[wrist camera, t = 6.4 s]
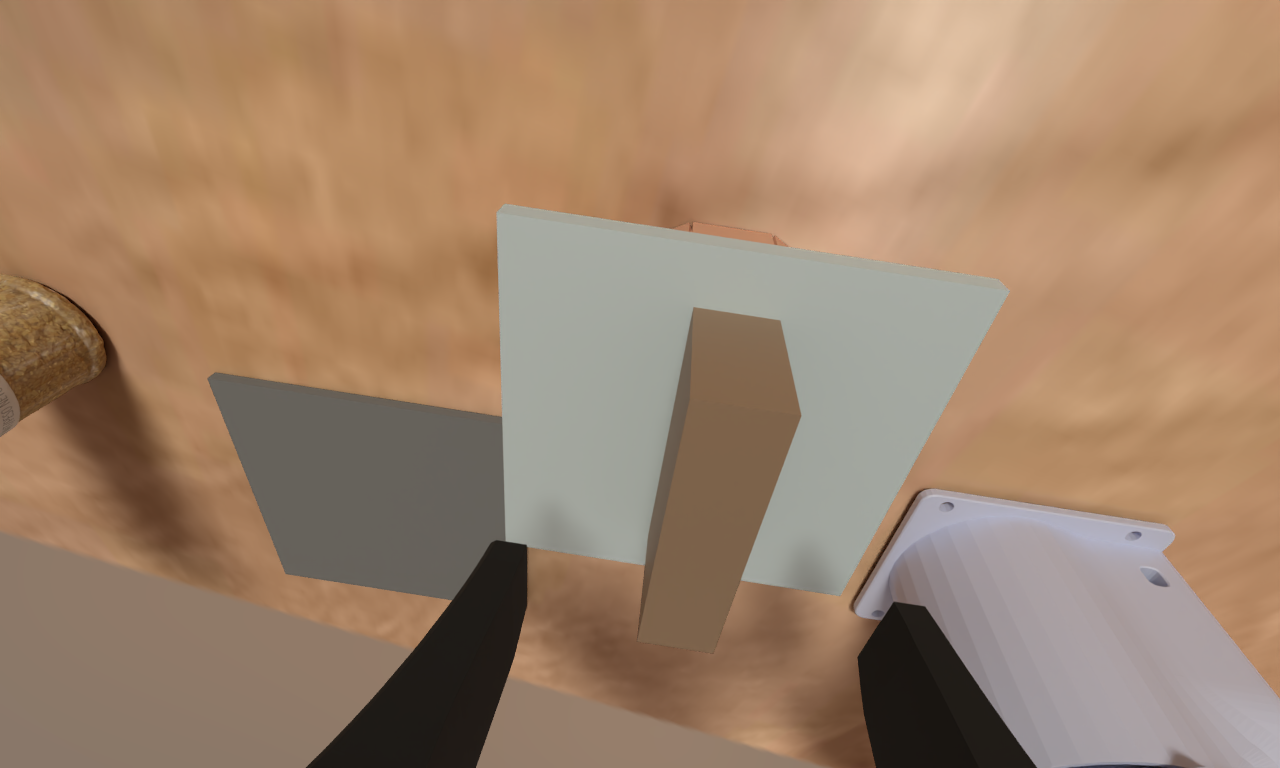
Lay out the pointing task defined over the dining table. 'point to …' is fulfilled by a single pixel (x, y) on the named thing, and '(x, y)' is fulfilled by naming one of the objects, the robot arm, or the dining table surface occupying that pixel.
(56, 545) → the dining table surface
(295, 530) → the mat
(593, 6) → the dining table surface
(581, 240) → the lid
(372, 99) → the dining table surface
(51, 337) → the sprinkles bottle
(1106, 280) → the dining table surface
